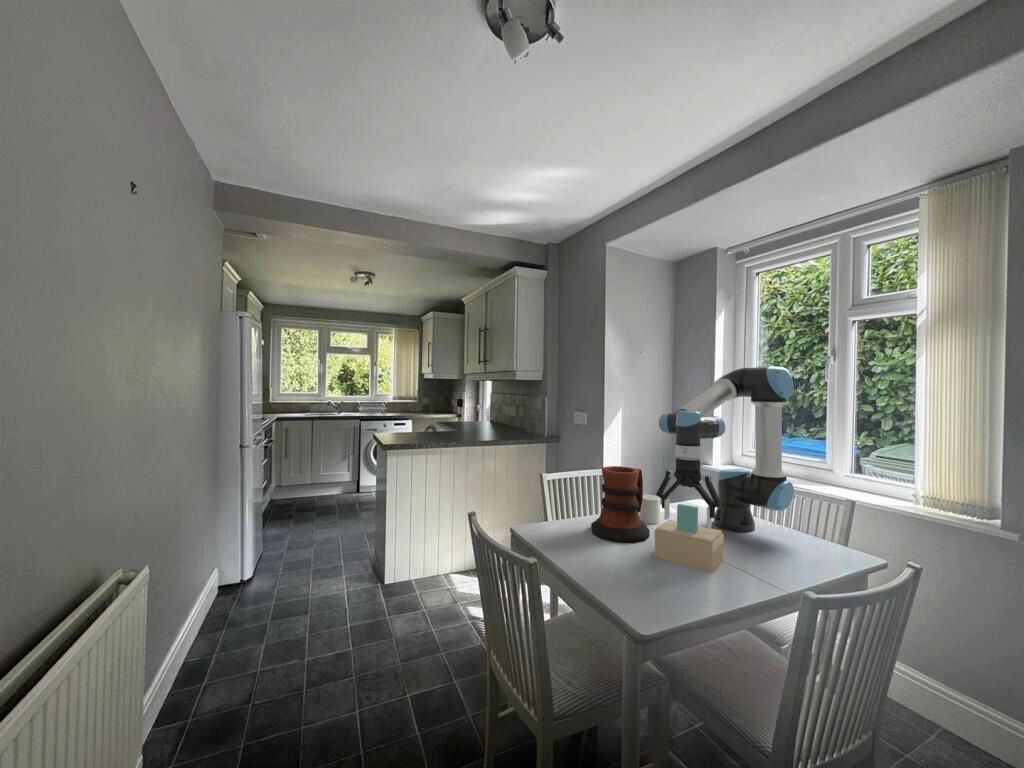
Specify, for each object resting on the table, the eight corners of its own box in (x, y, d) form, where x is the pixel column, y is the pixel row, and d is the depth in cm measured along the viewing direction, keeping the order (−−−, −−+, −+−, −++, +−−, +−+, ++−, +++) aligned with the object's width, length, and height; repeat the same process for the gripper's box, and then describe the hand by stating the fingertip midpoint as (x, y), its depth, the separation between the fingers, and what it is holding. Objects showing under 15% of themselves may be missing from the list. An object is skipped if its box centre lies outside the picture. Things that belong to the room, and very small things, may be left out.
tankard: (579, 531, 165) (579, 468, 165) (617, 518, 181) (617, 461, 181) (627, 548, 148) (628, 478, 148) (664, 532, 165) (665, 469, 165)
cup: (649, 525, 173) (649, 500, 173) (629, 517, 183) (629, 493, 184) (664, 522, 176) (664, 498, 176) (643, 514, 187) (643, 491, 187)
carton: (667, 546, 150) (667, 519, 150) (723, 560, 138) (723, 531, 138) (654, 556, 141) (654, 527, 141) (713, 573, 129) (713, 541, 129)
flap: (662, 525, 145) (663, 500, 145) (716, 537, 134) (716, 510, 134) (656, 529, 141) (656, 504, 141) (711, 542, 130) (711, 514, 130)
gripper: (646, 455, 144) (646, 517, 144) (726, 464, 128) (725, 534, 128) (655, 452, 150) (654, 512, 149) (732, 461, 133) (731, 528, 133)
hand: (687, 523), depth 139 cm, fingers open, 13 cm apart
